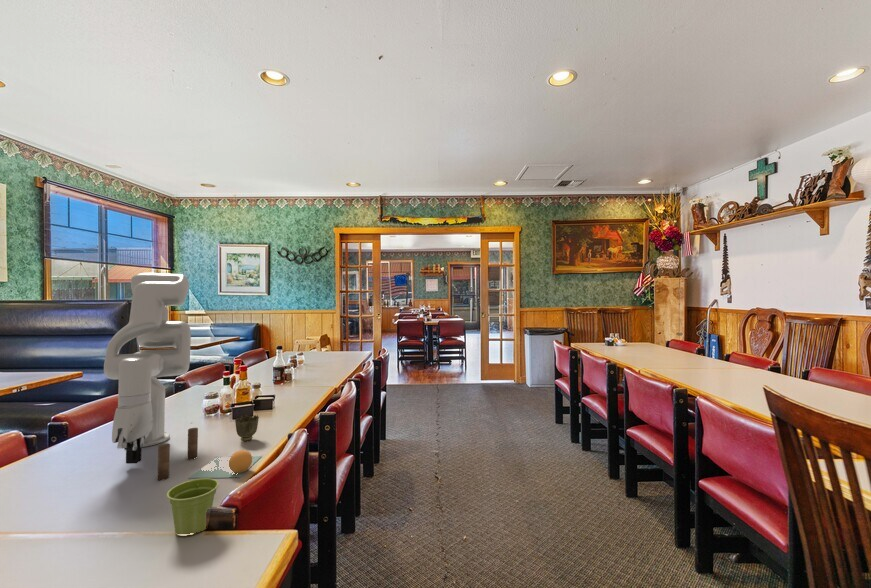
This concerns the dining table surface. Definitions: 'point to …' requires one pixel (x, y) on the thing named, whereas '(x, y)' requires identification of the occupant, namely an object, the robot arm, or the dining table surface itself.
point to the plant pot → (192, 504)
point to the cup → (246, 427)
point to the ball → (240, 461)
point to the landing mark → (220, 471)
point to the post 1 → (163, 461)
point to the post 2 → (192, 443)
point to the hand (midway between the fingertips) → (133, 462)
